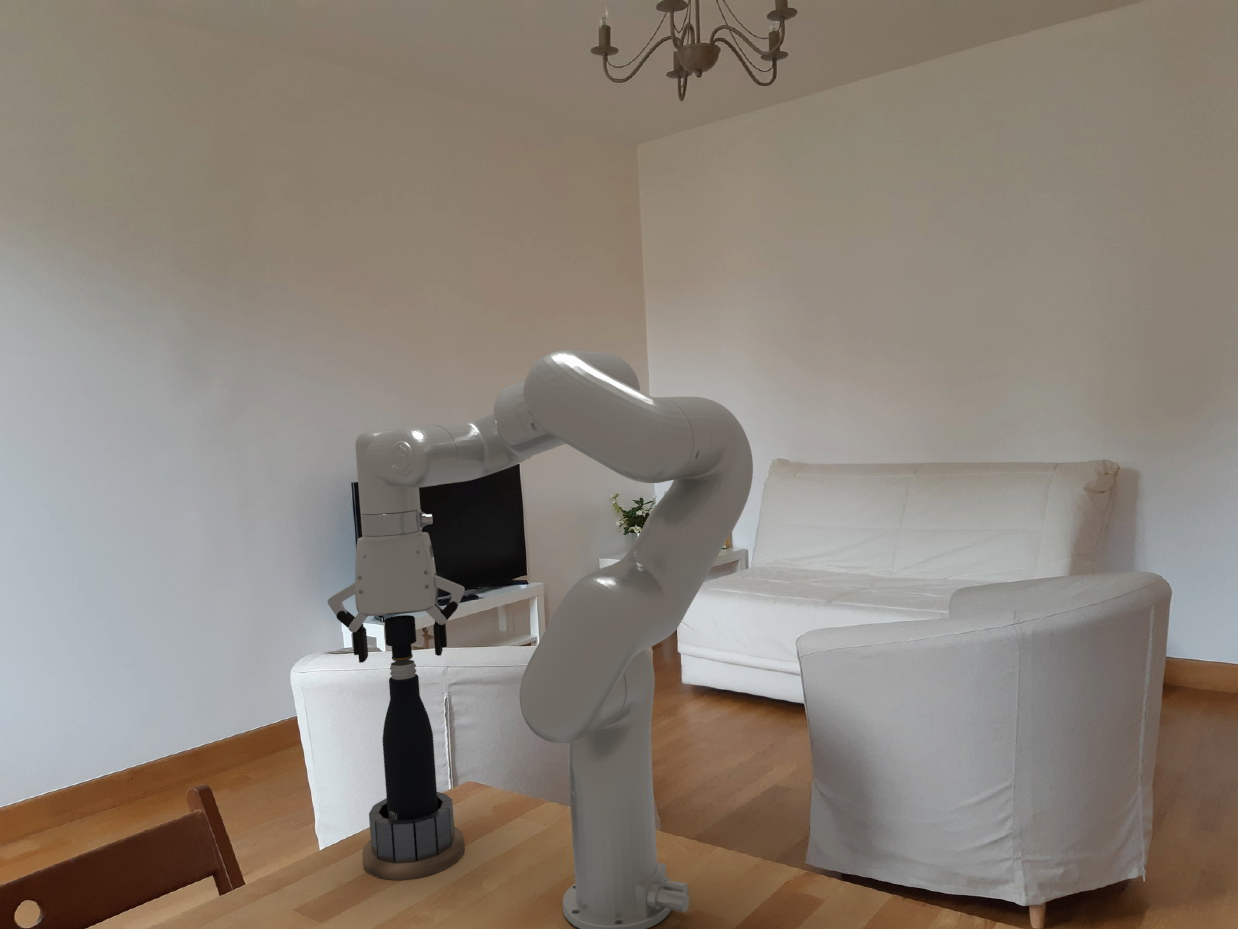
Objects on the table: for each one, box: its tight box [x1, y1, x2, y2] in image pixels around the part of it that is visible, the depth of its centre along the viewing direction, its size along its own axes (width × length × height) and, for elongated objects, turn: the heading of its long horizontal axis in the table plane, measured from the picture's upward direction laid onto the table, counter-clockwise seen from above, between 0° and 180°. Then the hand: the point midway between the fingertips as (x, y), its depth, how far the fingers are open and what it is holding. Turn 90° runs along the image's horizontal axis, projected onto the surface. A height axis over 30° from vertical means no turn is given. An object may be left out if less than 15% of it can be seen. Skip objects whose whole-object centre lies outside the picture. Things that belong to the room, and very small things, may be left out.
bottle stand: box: [361, 791, 465, 881], centre depth 122 cm, size 13×13×6 cm
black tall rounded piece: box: [382, 614, 438, 821], centre depth 122 cm, size 6×6×30 cm
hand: (401, 656), depth 121 cm, fingers open, 9 cm apart
